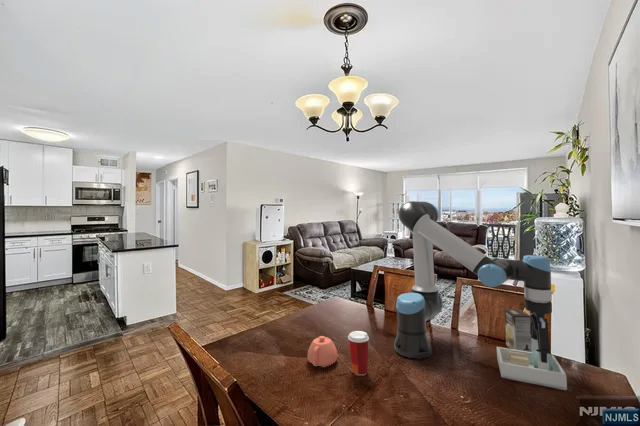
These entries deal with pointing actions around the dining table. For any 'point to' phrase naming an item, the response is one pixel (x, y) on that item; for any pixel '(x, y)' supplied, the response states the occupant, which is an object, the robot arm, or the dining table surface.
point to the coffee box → (518, 330)
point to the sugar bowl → (322, 352)
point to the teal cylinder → (537, 360)
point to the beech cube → (518, 359)
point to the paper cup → (359, 351)
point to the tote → (531, 370)
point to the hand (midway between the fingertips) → (540, 364)
